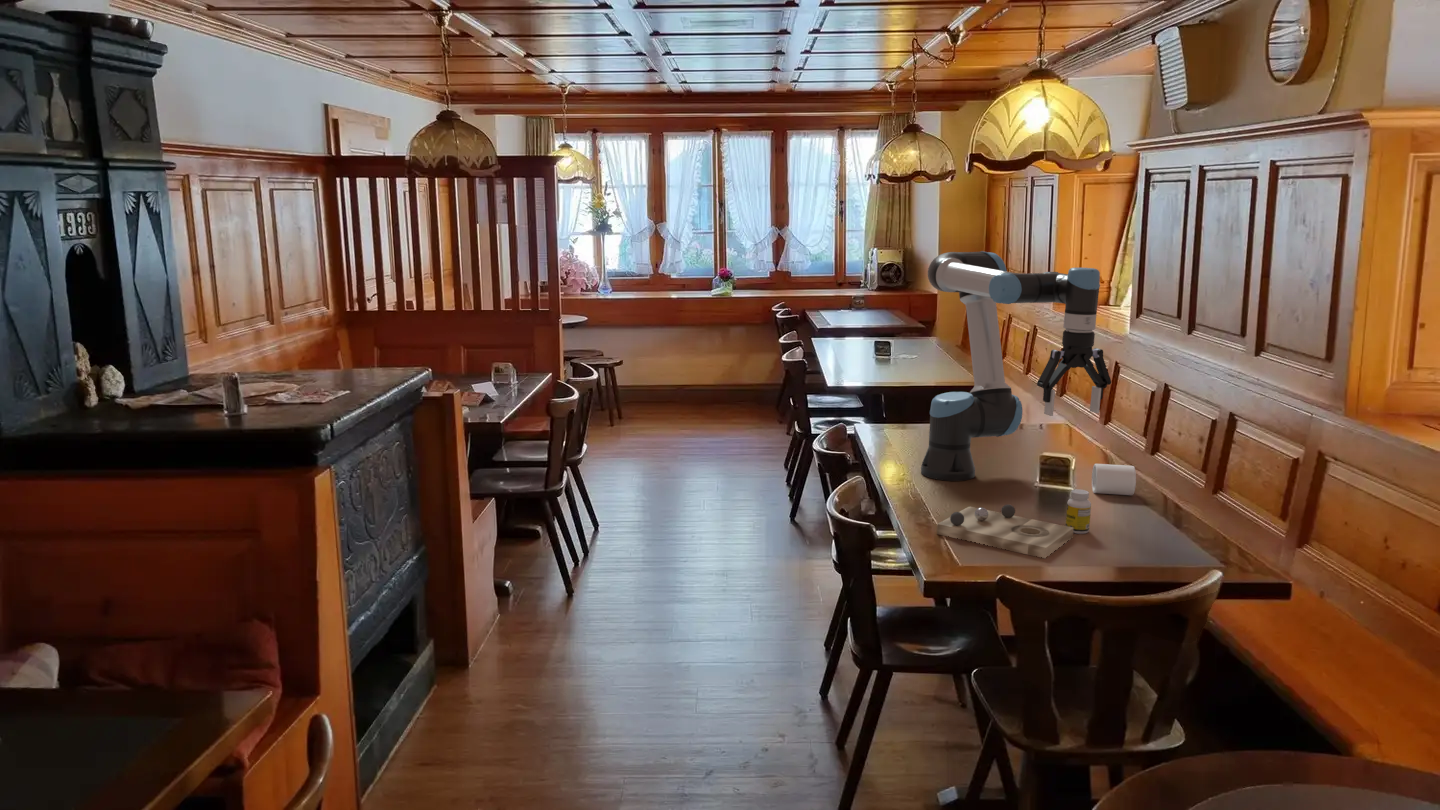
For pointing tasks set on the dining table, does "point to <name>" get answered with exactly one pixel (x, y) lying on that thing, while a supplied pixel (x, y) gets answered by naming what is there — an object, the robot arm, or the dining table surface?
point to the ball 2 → (1008, 511)
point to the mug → (1113, 479)
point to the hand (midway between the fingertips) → (1071, 413)
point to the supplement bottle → (1078, 511)
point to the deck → (1008, 532)
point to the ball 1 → (957, 518)
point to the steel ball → (981, 514)
